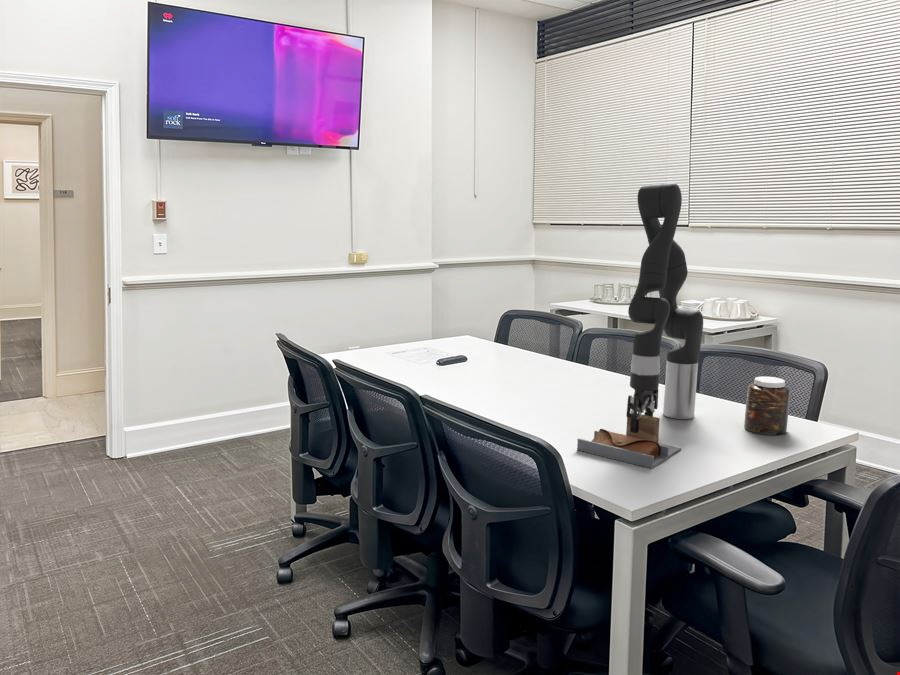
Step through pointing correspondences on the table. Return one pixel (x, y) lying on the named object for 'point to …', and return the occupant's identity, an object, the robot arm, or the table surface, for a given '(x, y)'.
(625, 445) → the sunglasses case
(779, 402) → the jar
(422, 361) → the table surface
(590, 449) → the grey divided tray
